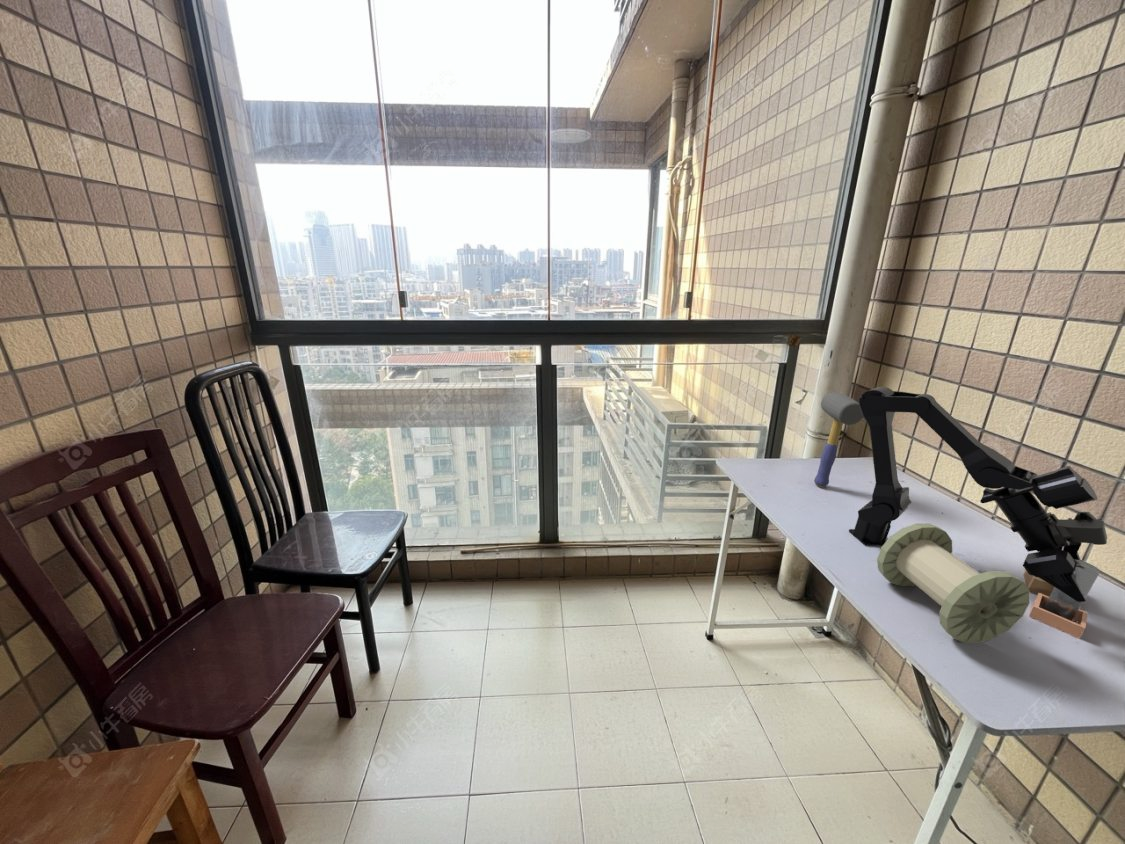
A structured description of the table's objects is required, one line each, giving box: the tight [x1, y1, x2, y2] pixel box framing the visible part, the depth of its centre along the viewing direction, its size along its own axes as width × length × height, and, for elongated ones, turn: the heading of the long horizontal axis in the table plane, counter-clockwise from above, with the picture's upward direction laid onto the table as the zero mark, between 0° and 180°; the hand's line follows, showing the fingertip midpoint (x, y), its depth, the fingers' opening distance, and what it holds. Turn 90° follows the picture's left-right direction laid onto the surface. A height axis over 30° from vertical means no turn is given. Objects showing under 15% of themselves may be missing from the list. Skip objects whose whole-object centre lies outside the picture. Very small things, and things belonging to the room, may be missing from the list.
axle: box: [1042, 559, 1101, 622], centre depth 84 cm, size 4×4×13 cm
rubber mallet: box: [813, 391, 864, 488], centre depth 132 cm, size 12×8×30 cm, turn 174°
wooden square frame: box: [1022, 569, 1054, 597], centre depth 93 cm, size 7×7×4 cm
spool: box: [876, 522, 1031, 644], centre depth 85 cm, size 16×15×15 cm
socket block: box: [1028, 593, 1089, 639], centre depth 85 cm, size 7×7×2 cm
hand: (1084, 591), depth 82 cm, fingers open, 9 cm apart
